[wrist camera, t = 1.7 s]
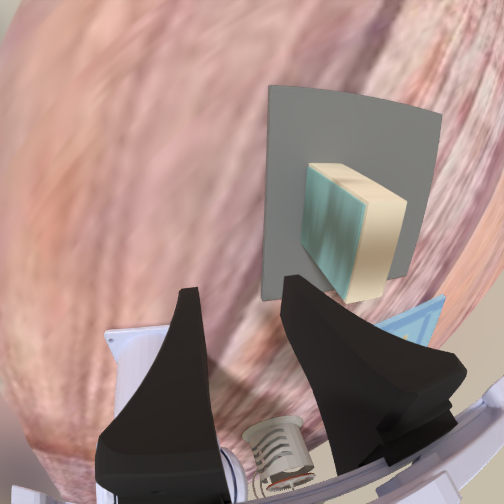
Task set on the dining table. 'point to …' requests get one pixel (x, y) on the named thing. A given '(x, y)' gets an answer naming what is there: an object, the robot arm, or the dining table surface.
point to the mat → (344, 152)
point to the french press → (272, 444)
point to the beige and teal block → (350, 229)
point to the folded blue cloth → (415, 322)
